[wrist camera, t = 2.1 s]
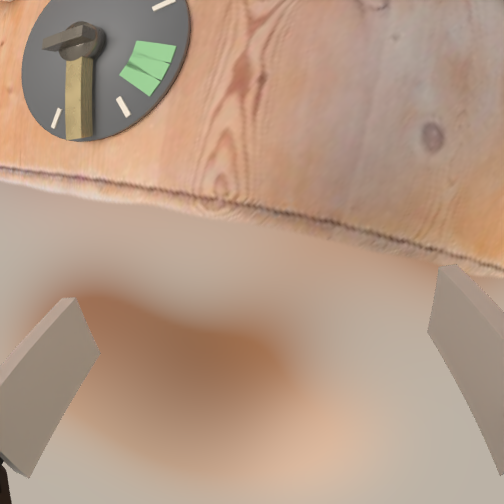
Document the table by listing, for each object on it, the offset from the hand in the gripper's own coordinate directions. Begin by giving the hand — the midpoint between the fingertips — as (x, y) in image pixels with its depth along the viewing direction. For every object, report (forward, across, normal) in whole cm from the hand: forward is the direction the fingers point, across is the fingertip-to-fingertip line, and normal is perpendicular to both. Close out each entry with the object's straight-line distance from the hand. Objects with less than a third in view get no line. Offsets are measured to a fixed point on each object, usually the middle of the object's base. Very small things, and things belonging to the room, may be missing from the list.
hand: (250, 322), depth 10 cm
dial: (+23, -16, +19) cm, 34 cm away
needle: (+21, -17, +15) cm, 31 cm away
